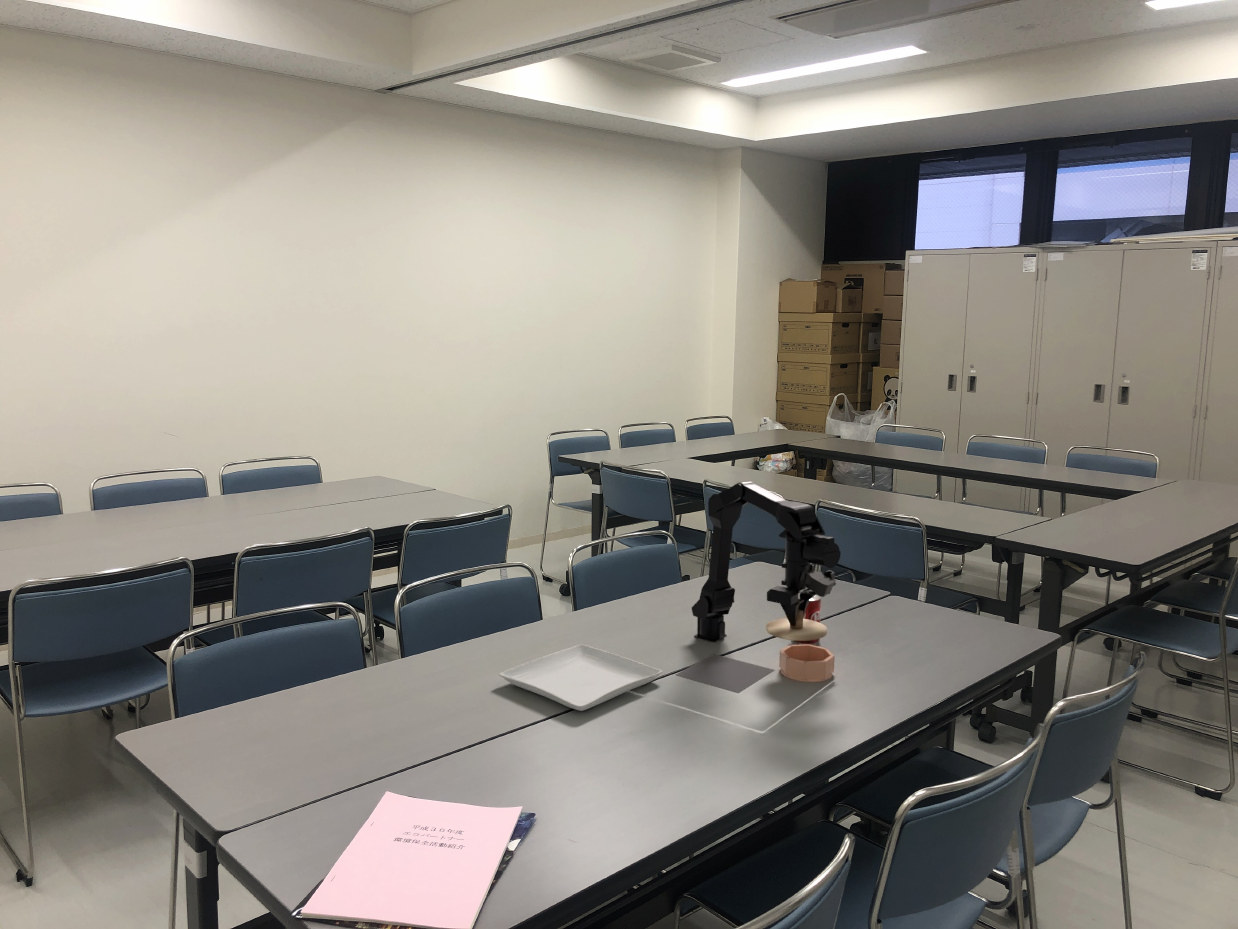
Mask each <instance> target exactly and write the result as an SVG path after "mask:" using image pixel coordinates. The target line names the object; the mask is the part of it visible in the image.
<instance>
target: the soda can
mask: <svg viewBox="0 0 1238 929" xmlns="http://www.w3.org/2000/svg"><path fill="white" fill-rule="evenodd" d="M821 598H822V597H821V596H818V595H815V596H814V597H813V598H811V599H810V601H809V603H808V606H807V609H806V612H805V615H804V618H803V619H808V620H813V621H816V622H819V623H821V615H822V614H821V613H822V609H821V608H822V599H821ZM820 639H821V638H820ZM820 639H816V640H808V641H795V640H792V642H794V644H796V645H802V644H810V645H814V646H816V644H818V643H820Z"/></svg>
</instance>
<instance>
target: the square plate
mask: <svg viewBox="0 0 1238 929" xmlns="http://www.w3.org/2000/svg"><path fill="white" fill-rule="evenodd" d="M662 673H663V670H662V669H659V668H657V667H654V666H651V665H648V664H646V663H642V662H640V661H637V660H633V659H631V658H628V657H625V656H622V655H619V654H616V653H612V652H609V651H606V650H604V649H600V648H596V647H593V646H590V645H586V644H582V643H579V644H578V645H574V646H571V647H568V648H565V649H561V650H558V651H556V652H553V653H550V654H546V655H544V656H540V657H537V658H536V659H535V658H534V659H533V660H532V659H531V660H529V661H527V662H524V663H522V664H519V665H516V666H514V667H511V668H509V669H506V670H504V671H501V672H500V673H498V675H499V677H501V678H503V679H504V680H505V681H506V682H508V683H509V684H511V685H514V686H516V687H519V688H520V689H521V688H522V689H523V690H526V691H529V692H532V693H535V694H538V695H540V696H543V697H545V698H548V699H550V700H551V701H554V702H557V703H558V704H560V705H562V706H565V707H568V708H571V709H573V710H576V711H580V712H583V711H586V710H588V709H590V708H593V707H595V706H597V705H600V704H602V703H605V702H606V701H609V700H612V699H614V698H616V697H618V696H620V695H622V694H625V693H627V692H629V691H631V690H633V689H636V688H639V687H641V686H643V685H645V684H648V683H651V682H652V681H654V680H656V679H657V678H658V677H659V676H660V675H661V674H662Z"/></svg>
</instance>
